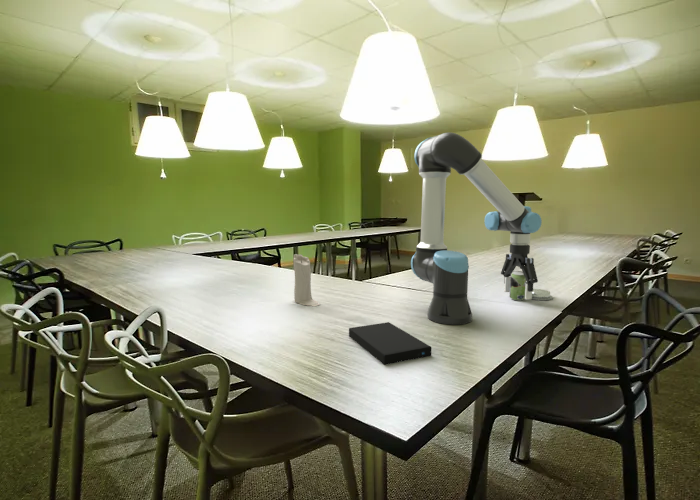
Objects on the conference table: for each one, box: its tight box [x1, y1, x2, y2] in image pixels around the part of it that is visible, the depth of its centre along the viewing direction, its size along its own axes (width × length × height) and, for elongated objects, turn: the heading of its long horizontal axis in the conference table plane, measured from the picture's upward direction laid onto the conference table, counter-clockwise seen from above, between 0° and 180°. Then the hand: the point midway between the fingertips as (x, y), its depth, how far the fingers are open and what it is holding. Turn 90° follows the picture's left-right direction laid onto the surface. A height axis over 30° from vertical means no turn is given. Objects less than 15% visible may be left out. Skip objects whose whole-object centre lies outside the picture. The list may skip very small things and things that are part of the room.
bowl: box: [530, 288, 553, 302], centre depth 163 cm, size 12×12×2 cm
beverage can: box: [508, 270, 527, 302], centre depth 159 cm, size 6×7×12 cm
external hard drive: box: [348, 321, 432, 366], centre depth 110 cm, size 14×23×3 cm, turn 23°
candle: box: [293, 253, 321, 307], centre depth 157 cm, size 7×14×20 cm, turn 41°
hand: (517, 295), depth 159 cm, fingers open, 12 cm apart
